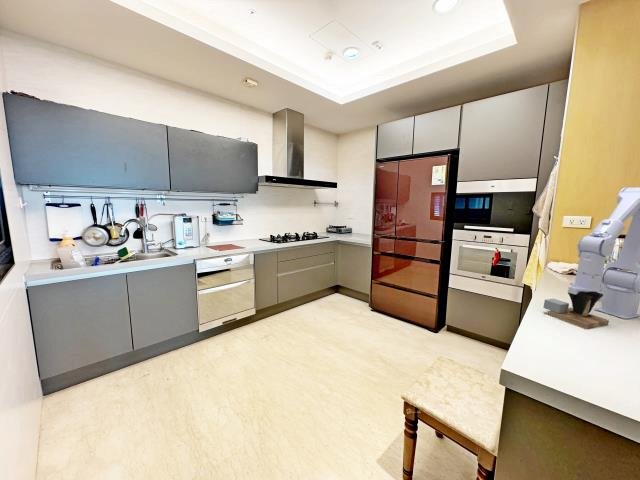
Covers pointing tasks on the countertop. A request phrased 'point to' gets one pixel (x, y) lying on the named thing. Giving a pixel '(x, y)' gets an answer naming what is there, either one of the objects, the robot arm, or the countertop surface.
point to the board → (580, 319)
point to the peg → (585, 313)
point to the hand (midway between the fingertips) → (581, 312)
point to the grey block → (556, 305)
